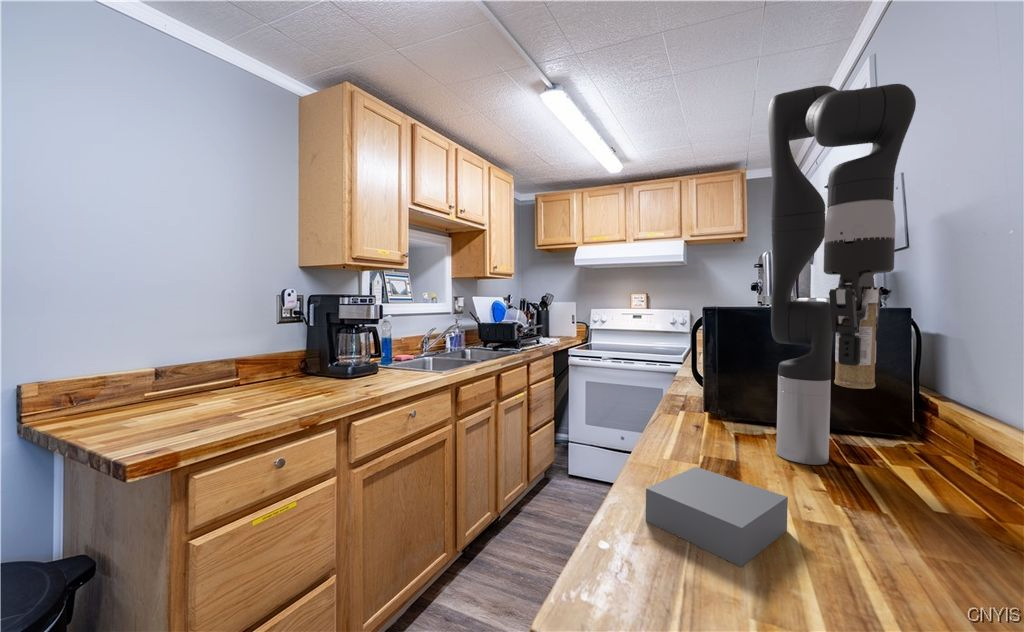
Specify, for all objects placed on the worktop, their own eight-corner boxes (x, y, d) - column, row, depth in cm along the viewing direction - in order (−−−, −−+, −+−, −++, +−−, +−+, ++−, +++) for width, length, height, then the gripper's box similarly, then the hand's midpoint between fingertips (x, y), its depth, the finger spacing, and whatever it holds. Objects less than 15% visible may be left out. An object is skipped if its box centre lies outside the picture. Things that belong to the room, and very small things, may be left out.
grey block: (695, 495, 73) (695, 466, 72) (786, 530, 61) (787, 496, 61) (645, 520, 64) (645, 488, 64) (741, 567, 53) (741, 527, 53)
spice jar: (880, 387, 58) (883, 289, 58) (868, 391, 56) (871, 288, 55) (840, 381, 62) (843, 289, 62) (827, 385, 60) (830, 289, 59)
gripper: (841, 245, 65) (838, 356, 66) (806, 237, 57) (803, 364, 58) (907, 240, 59) (903, 361, 60) (879, 230, 51) (874, 372, 52)
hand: (854, 362), depth 59 cm, fingers closed on spice jar, 4 cm apart
